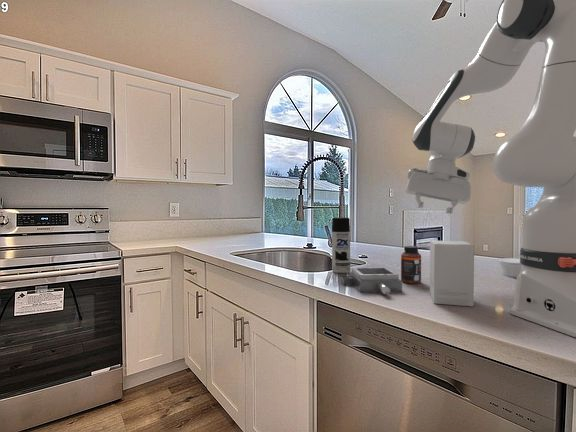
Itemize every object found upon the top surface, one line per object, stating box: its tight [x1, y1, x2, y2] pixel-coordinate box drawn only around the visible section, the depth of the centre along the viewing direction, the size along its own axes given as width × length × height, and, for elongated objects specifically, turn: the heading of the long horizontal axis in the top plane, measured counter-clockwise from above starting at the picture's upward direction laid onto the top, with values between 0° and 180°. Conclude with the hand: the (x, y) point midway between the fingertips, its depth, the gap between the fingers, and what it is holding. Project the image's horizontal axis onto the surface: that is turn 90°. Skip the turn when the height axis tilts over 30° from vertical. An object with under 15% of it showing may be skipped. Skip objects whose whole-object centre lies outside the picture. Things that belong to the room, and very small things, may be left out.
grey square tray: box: [340, 266, 403, 296], centre depth 95 cm, size 19×15×4 cm
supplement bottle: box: [400, 245, 422, 285], centre depth 102 cm, size 6×6×11 cm
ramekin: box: [498, 257, 522, 279], centre depth 109 cm, size 11×11×5 cm
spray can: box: [331, 217, 352, 274], centre depth 118 cm, size 7×7×20 cm
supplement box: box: [429, 240, 475, 308], centre depth 82 cm, size 9×9×15 cm
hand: (434, 210), depth 108 cm, fingers open, 8 cm apart
